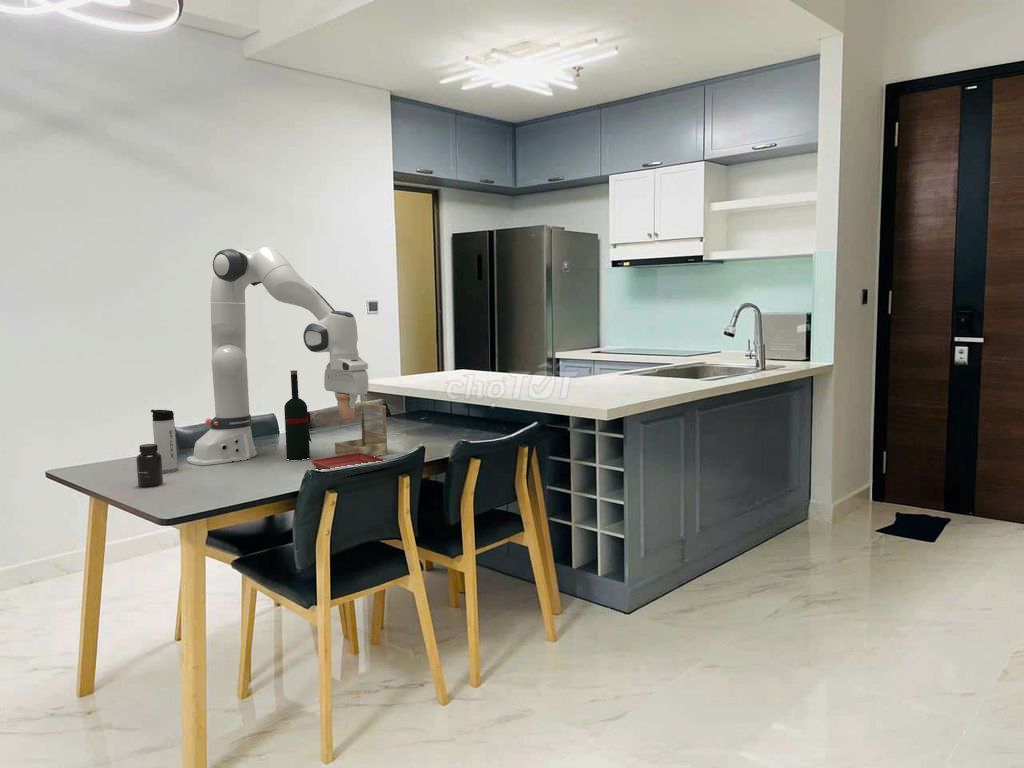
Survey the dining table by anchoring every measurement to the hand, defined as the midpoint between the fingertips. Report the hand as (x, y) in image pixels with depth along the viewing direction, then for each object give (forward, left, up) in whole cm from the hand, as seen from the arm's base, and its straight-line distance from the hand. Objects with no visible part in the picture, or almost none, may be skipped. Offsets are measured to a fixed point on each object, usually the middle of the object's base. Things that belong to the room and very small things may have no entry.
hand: (346, 407), depth 241 cm
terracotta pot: (0, 0, -4) cm, 4 cm away
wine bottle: (-2, +27, -20) cm, 34 cm away
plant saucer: (0, 0, -20) cm, 20 cm away
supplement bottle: (-51, +27, -20) cm, 61 cm away
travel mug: (-41, +42, -20) cm, 62 cm away
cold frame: (+15, +16, -20) cm, 30 cm away
